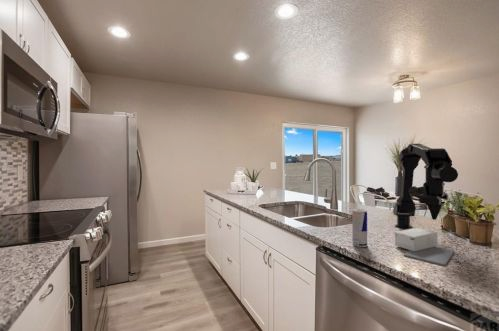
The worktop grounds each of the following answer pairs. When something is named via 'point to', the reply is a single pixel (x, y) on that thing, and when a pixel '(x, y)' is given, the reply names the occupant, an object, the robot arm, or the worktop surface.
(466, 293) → the worktop surface
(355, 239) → the beverage can
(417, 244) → the skincare box
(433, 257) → the mat
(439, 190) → the robot arm
